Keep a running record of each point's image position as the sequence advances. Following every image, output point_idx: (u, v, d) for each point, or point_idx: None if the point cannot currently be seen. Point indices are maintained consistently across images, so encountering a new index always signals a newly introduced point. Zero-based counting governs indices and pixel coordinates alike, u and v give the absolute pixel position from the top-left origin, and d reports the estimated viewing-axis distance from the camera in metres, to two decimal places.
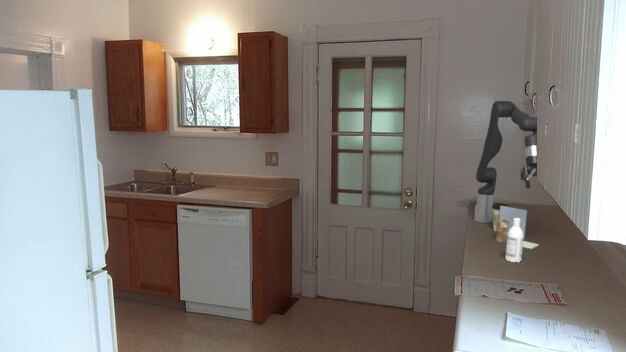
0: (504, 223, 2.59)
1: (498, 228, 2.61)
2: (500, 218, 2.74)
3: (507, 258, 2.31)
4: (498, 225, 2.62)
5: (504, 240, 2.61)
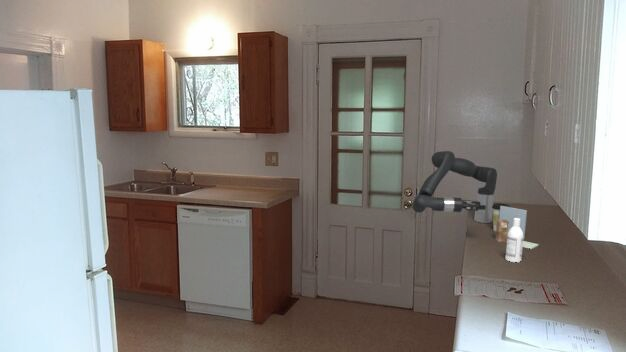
0: (504, 223, 2.59)
1: (498, 228, 2.61)
2: (500, 218, 2.74)
3: (507, 258, 2.31)
4: (498, 225, 2.62)
5: (504, 240, 2.61)
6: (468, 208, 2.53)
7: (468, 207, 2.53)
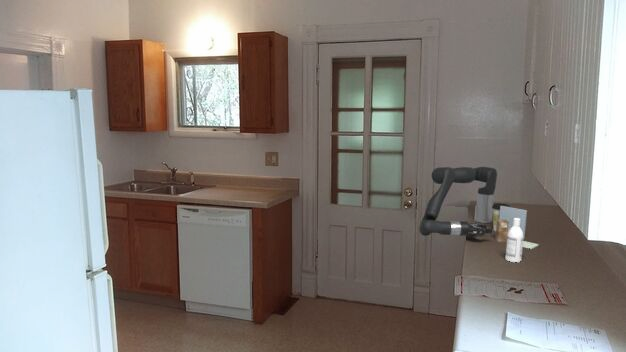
0: (504, 223, 2.59)
1: (498, 228, 2.61)
2: (500, 218, 2.74)
3: (507, 258, 2.31)
4: (498, 225, 2.62)
5: (504, 240, 2.61)
6: (475, 232, 2.56)
7: (475, 231, 2.56)
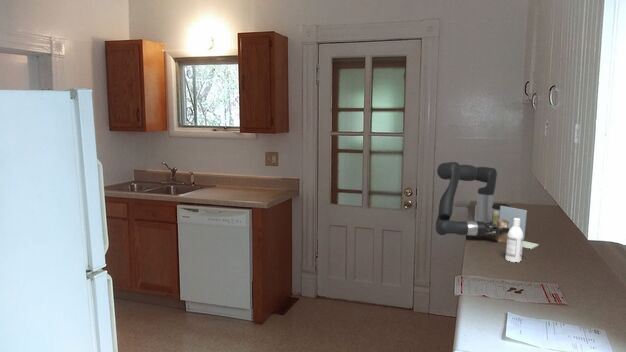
0: (504, 223, 2.59)
1: None
2: (500, 218, 2.74)
3: (507, 258, 2.31)
4: (498, 225, 2.62)
5: (504, 239, 2.61)
6: (494, 232, 2.56)
7: (494, 231, 2.56)
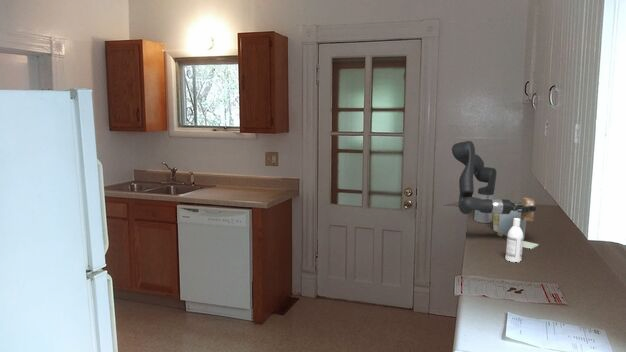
0: (530, 201, 2.51)
1: None
2: (500, 218, 2.74)
3: (507, 258, 2.31)
4: (523, 204, 2.53)
5: (530, 218, 2.52)
6: (520, 210, 2.47)
7: (520, 209, 2.47)
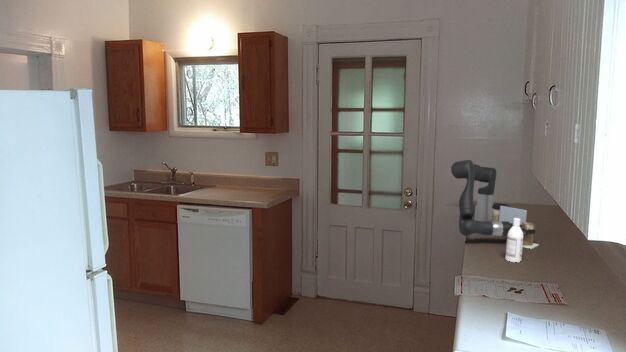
0: (530, 226, 2.53)
1: (524, 231, 2.54)
2: (500, 218, 2.74)
3: (507, 258, 2.31)
4: None
5: (529, 243, 2.54)
6: None
7: None
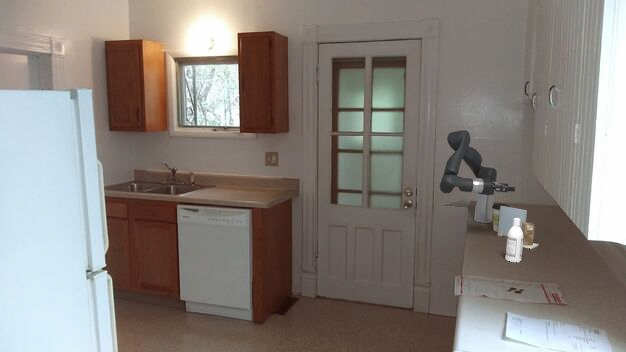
0: (530, 226, 2.53)
1: (524, 231, 2.54)
2: (500, 218, 2.74)
3: (507, 258, 2.31)
4: (523, 228, 2.55)
5: (529, 243, 2.54)
6: (498, 189, 2.48)
7: (498, 188, 2.48)
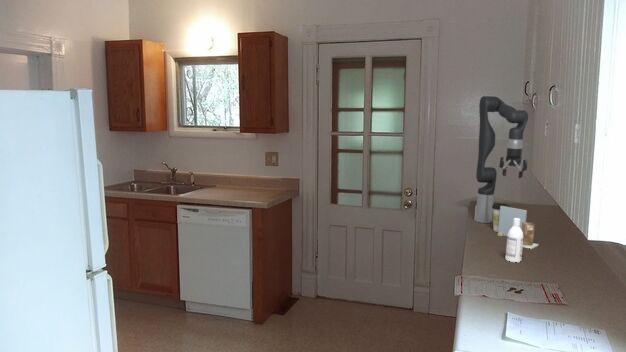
0: (530, 226, 2.53)
1: (524, 231, 2.54)
2: (500, 218, 2.74)
3: (507, 258, 2.31)
4: (523, 228, 2.55)
5: (529, 243, 2.54)
6: (526, 161, 2.65)
7: (526, 161, 2.66)
